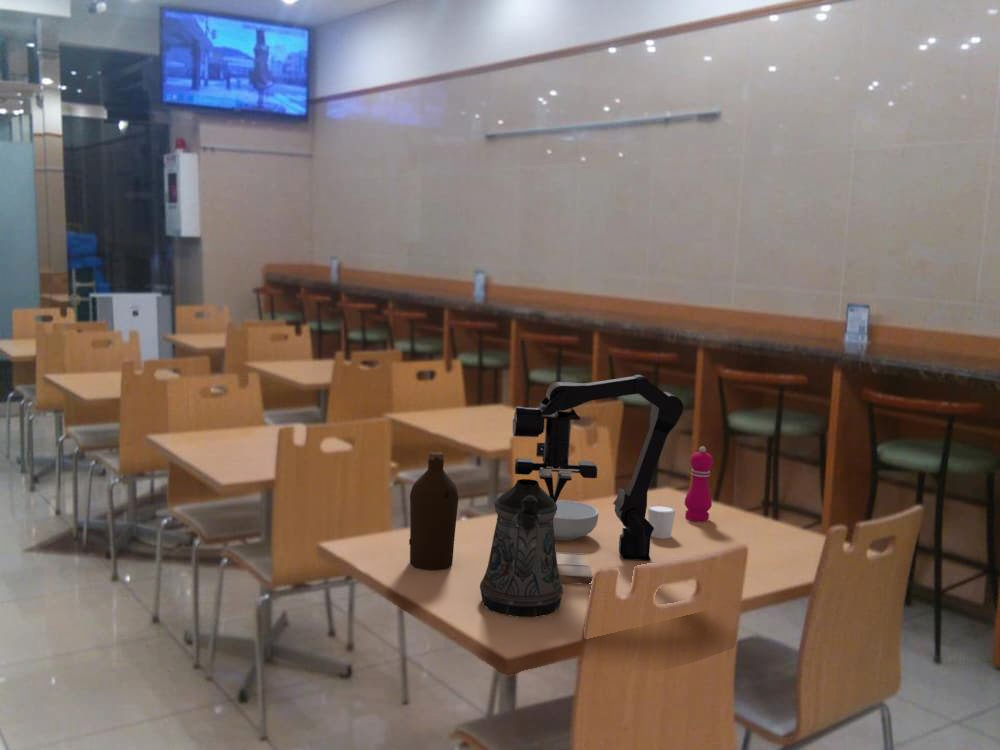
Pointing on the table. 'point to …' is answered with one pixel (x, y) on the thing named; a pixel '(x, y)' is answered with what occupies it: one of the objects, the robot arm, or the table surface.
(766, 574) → the table surface
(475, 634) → the table surface
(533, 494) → the ornate coffee pot
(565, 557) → the plank
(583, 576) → the laid board
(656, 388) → the robot arm
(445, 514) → the olive oil
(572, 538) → the cereal bowl
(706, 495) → the pepper mill
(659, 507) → the shot glass
